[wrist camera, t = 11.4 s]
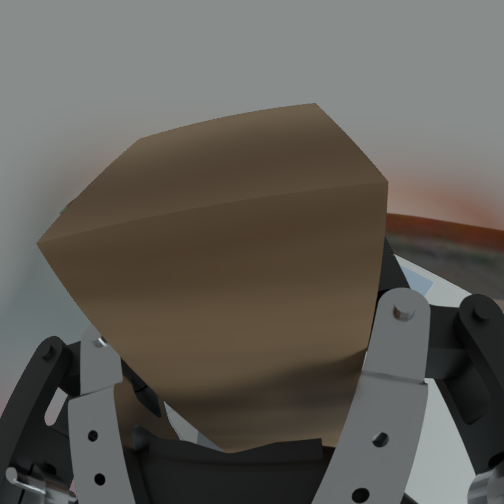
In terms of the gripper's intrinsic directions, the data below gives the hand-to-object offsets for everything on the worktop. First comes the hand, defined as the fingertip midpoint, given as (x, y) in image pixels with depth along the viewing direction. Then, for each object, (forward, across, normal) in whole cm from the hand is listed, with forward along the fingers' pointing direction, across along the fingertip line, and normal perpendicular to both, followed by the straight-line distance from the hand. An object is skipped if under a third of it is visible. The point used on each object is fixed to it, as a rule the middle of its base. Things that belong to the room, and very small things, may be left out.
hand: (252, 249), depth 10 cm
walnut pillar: (-3, 0, +7) cm, 8 cm away
